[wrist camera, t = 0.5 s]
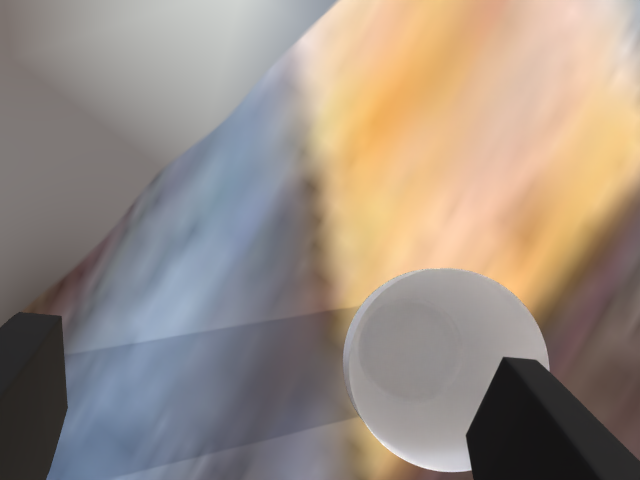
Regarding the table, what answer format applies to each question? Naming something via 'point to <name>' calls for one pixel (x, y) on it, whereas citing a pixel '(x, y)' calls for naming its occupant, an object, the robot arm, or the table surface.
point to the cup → (433, 359)
